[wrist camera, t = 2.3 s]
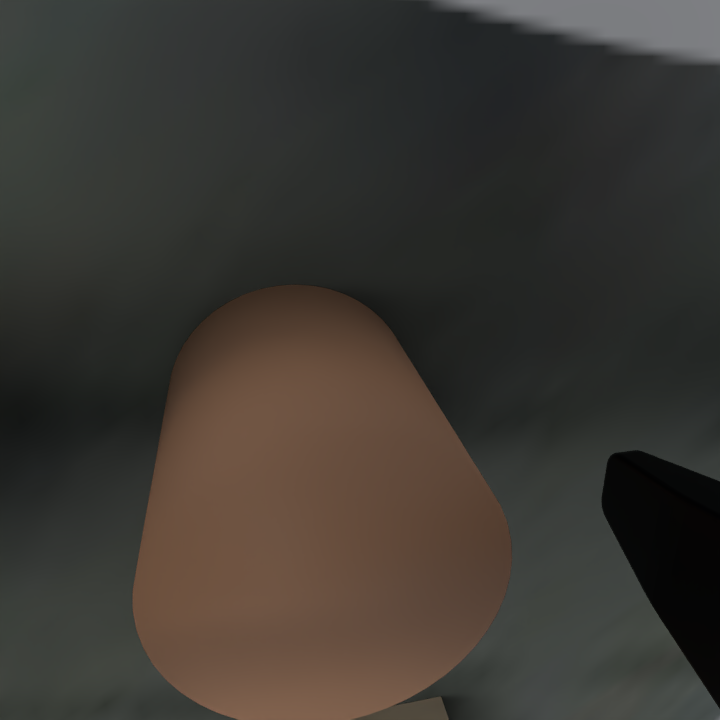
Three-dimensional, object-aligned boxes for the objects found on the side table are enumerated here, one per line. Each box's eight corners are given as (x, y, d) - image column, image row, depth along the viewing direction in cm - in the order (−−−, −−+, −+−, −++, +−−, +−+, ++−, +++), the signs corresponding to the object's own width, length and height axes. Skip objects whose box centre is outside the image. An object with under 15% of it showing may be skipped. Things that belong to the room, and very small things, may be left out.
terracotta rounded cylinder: (124, 444, 12) (62, 673, 7) (246, 236, 11) (261, 357, 6) (329, 529, 14) (380, 757, 9) (454, 356, 12) (582, 519, 8)
